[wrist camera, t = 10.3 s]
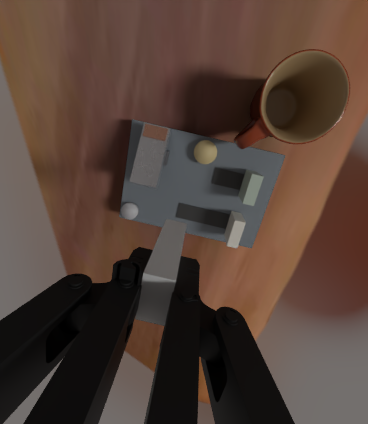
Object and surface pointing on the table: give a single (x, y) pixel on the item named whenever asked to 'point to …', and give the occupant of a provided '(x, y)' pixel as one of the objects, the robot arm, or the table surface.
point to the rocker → (150, 155)
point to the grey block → (250, 187)
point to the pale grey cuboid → (234, 229)
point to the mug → (298, 100)
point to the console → (200, 185)
